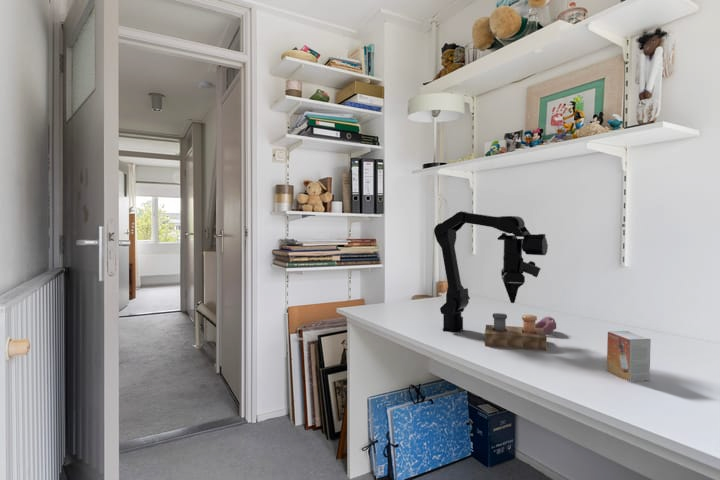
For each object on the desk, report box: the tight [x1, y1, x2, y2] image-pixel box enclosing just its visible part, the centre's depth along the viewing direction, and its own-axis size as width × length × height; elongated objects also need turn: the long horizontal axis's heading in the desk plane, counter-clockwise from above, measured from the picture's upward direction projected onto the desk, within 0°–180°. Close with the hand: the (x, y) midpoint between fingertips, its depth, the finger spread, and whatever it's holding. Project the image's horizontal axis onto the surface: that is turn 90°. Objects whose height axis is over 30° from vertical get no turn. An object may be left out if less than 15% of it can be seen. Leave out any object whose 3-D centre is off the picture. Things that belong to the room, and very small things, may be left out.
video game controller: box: [535, 315, 557, 336], centre depth 146 cm, size 10×5×7 cm, turn 169°
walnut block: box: [484, 324, 548, 351], centre depth 133 cm, size 18×12×4 cm, turn 71°
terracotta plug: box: [521, 314, 538, 334], centre depth 132 cm, size 4×4×6 cm
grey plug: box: [492, 312, 508, 332], centre depth 135 cm, size 4×4×6 cm
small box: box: [606, 330, 652, 383], centre depth 103 cm, size 8×6×10 cm
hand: (511, 300), depth 137 cm, fingers open, 9 cm apart
